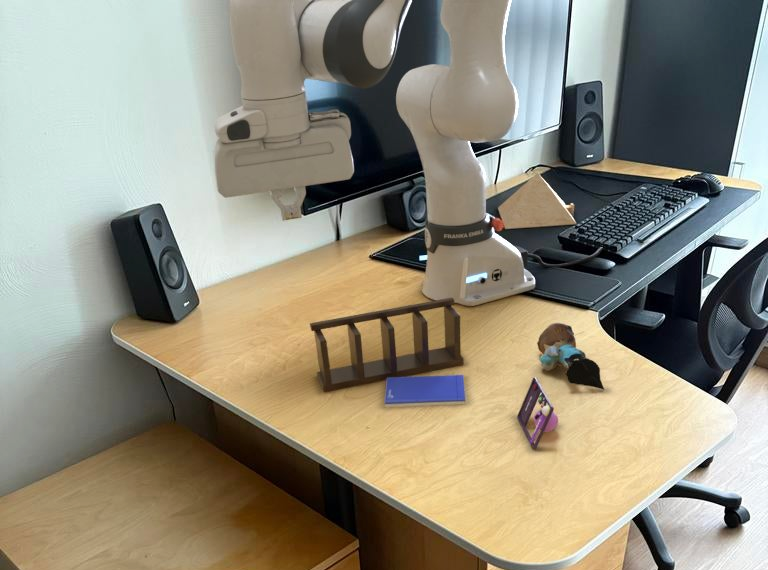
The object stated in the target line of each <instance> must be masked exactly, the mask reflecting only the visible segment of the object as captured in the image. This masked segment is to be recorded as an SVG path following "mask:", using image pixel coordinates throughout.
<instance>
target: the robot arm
mask: <svg viewBox="0 0 768 570" xmlns="http://www.w3.org/2000/svg"><path fill="white" fill-rule="evenodd" d="M412 2H413V0H229V24H230V32H231V33H230V34H231V41H232V42H231V43H232V48H233V55H234V59H235V64H236V66H237V68H238V70H239V74H240V79H241V88H240V89H241V91H240V97H241V103H242V105H240V106H239V107H237V108H235V109H234V110H231V111H229V112H227V113H225V114H223V115H221V116H219V117H218V118H217V119H215V121H214V124H213V125H214V127H213V128H214V132H215V135H216V137H217V139H216V141H215V143H214V145H213V155H212V156H213V157H212V158H213V170H214V179H215V185H216V189H217V193H219V194H220V195H221V196H222V197H223V198H226V199H227V198H234V197H241V196H245V195H246V196H247V195H254V194H260V193H261V194H262V193H269V195H270V198H271V199H272V200H273V201H274V203H275V204H276V205H277V207H278V209H279V213H280V218H281V220H282V221H283V222H285V221H291V220H296V219H297V220H298V219H302V216H303V215H302V208H301V207H302V205H303V203H304V200H305V198H306V195H307V190H306V187H307V186H314V185H320V184H321V185H322V184H327V183H333V182H340V181H346V180H347V181H348V180H351V178H352V177H353V175H354V173H355V165H354V158H353V154H352V149H351V144H350V139H351V137H352V125H351V120H350V118H349V116H348V115H347V114H346V113H344V112H341V111H340V110H339V109H330V110H327V111H313V112H309V111H308V109H309V108H308V101H307V92H306V86H305V81H306V80H314V81H319V82H320V81H321V82H327V83H337V84H343V85H346V86H350V87H354V88H357V89H370V88H373V87H375V86H377V85H378V84H379V83H380V82H381V81H382V80H383V79H384V78H385V77H386V75H387V74H388V72H389V71H390V69H391V67H392V65H393V63H394V60H395V57H396V53H397V49H398V44H399V39H400V35H401V31H402V28H403V25H404V22H405V19H406V17H407V14H408V12H409V10H410V7H411V5H412ZM511 3H512V0H442V3H441V9H440V15H439V18H440V23H441V27H442V29H443V30H444V31H445V32H446V34H447V35H448V38H449V44H450V45H449V46H450V62H449V65H443V64H434V63H433V64H432V63H431V64H427V65H422V66H418V67H415V68H412V69H410V70H408V71H407V72H406V73H405V74H404V75H403V76H402V78H401V79H400V81H399V83H398V86H397V88H396V89H397V90H396V94H395V95H396V96H395V104H396V105H395V106H396V110H397V112H398V116H399V117H400V119H401V120H402V121H403V123H404V124H405V125H406V126H407V128H408V129H409V131H410V133H411V136H412V138H413V141H414V143H415V146H416V150H417V153H418V155H419V159H420V162H421V166H422V170H423V175H424V182H425V200H426V217H425V220H424V243H425V248H426V255H419V261H425V260H426V266H425V272H424V273H425V274H424V278H423V283H422V287H421V292H422V294H423V295H424V296H425V297H426V298H428V299H430V300H432V301H436V300H441V299H447V298H453V299H454V304H460V305H463V306H468V307H474V306H478V305H482V304H485V303H488V302H493V301H497V300H500V299H503V298H507V297H511V296H514V295H518V294H522V293H524V292H529V291H531V290H535V288H536V279H535V277H534V275H533V273H531V272H530V271H529V270H527V269H526V267H528V258H532V259H534V260H536V261H537V263H538V264H539V266H540V267H543V268H558V267H570V266H575V265H578V264H581V263H584V262H587V261H590V260H592V259H595V258H597V256H599V255H600V254H601V252H602V251H603V250H605V249H606V248H603V247H601V246H600V247H599V248H598V249H597V250H596V251H595V252H594V253H593V254H591V255H589V256H586V257H582V258H579V259H576V260H573V261H570V262H565V263H559V264H557V263H556V264H553V263H552V264H551V263H547V262H546V263H545V262H543V261H542V259H541V257H540V256H539V255H537V254H534V253H528V250H526V249H524V248H522V247H520V246H518V245H513V244H511V243H510V242H509V241H507V240H506V239H505V238H503V237H502V236H500V235H499V234H497V233H496V232H501V231H503V229H505V227H504V224H503V223H504V222H503V221H502V219H501V218H500V217H495V216H494V215H492V214H489V213H487V210H486V209H487V208H486V207H487V175H486V171H485V168H484V166H483V165H482V163H481V162H480V160H478V158H477V157H476V155H475V152H474V151H473V148H472V146H471V143H475V144H477V143H478V144H479V143H487V142H494V141H498V140H501V139H502V138H504V137H505V136H506V135H507V134H508V133H509V132H510V130H511V129H512V127H514V124H515V121H516V118H517V116H518V111H519V110H518V108H519V98H518V93H517V89H516V87H515V85H514V83H513V82H512V80H511V78H510V76H509V74H508V70H507V63H506V53H505V52H506V51H505V38H506V37H505V36H506V29H507V23H508V18H509V12H510V8H511ZM340 116H341V117H340ZM289 189H293V190H294V193H295V194H296V197H295V200H294V201H293V203H291V204H283V203H282V201H281V200H280V199H279V198H282V192H281V190H289ZM495 231H496V232H495ZM634 241H635V242H638V243H639V244H644V243H645V242H644V241H643V239H641V238H640V239H637V240H634Z"/></svg>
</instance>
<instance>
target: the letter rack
mask: <svg viewBox="0 0 768 570" xmlns="http://www.w3.org/2000/svg"><path fill="white" fill-rule="evenodd" d="M453 306H455V303H454V299H453V298H447V299H441V300H430V301H425V302H420V303H413V304H409V305H403V306H398V307H393V308H392V307H391V308H386V309H380V310H376V311H370V312H369V311H368V312H365V313H358V314H353V315H349V316H341V317H336V318H332V319H325V320H320V321H316V322H315V321H314V322H309V328H310V331H311V332H313V333H314V340H315V341H314V342H315V347H316V354H317V355H316V356H317V362H318V369H319V370H318V371H316V377H317V380H318V383H319V384H320V387H321V389H322V391H323V393H325V392H326V393H327V392H331V391H336V390H342V389H346V388H347V389H348V388H352V387H356V386H361V385H362V386H363V385H367V384H372V383H377V382H382V381H387V378H390V377H409V376H413V375H417V374H423V373H427V372H432V371H437V370H443V369H447V368H452V367H459V366H463V365H464V363H465V361H464V360H465V359H464V357H463V356H462V354H461V347H462V346H461V314H459V313H458V312H457V310H456V309H455V308H454V307H453ZM440 308H443V314H444V315H443V316H444V317H443V318H444V319H443V321H444V322H443V323H444V347H443V346H442V347H438V348H433V349H429V328H428V324H429V323H428V320H427V319H426V318H425V316H424V315H423V314H422V313H421V312H424V311H431V310H434V309H435V310H436V309H440ZM408 314H409V315H410V314H411V315H412V334H413V335H412V336H413V351H414V352H413V353H407V354H403V355H398V356H397V348H396V347H397V346H396V334H395V326H393V324H392V322H391V321H390V320H389V318H392V317H397V316H403V315H408ZM375 320H379V322H380V323H379V324H380V333H381V334H380V335H381V336H380V337H381V347H382V358H381V359H376V360H371V361H366V362H364V355H363V345H362V335H361V333H360V331H359V329H358V327H357V326H356V324H359V323H364V322H365V323H366V322H370V321H375ZM343 326H347V336H348V344H349V353H350V361H351V365H346V366H340V367H335V368H331V365H330V358H329V357H330V356H329V352H328V351H329V350H328V344H327V339H326V337H325V335H324V333H323V331H322V330H327V329H331V328H336V327H343Z"/></svg>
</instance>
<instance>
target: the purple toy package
mask: <svg viewBox="0 0 768 570" xmlns="http://www.w3.org/2000/svg"><path fill="white" fill-rule="evenodd" d="M537 402H538V404H539V406H540V409H539V410H537V411H536V412H535V414H534V415H533V423H534V425H535V429H534V431H533V434H532V436H531V434H530V432H529V430H528V428H527V426H528V423H529V421H530V418H531V416H532V414H533V411H534V409H535V407H536V405H537ZM554 410H555V408H554V406H553V403H552V402H551V400H550V398H549V397H548V395H547V394H546V391H545V390H544V388H543V387H542V385H541V383H540V381H539V380H538V378H537V377H533V378H532V380H531V383H530V385H529V388H528V389H527V392H526V395H525V396H524V399H523V401H522V404H521V406H520V409H519V411H518V414H517V416H516V418H517V419H518V422H519V425H520V426H521V429H522V430H523V433H524V434H525V437H526V438H527V441H528V442H529V445H530V447H531V449H532V450H537V448H538V446H539V444H540V441H541V439H542V437H543V435H544V432H545V433H548V432H552V431H554V430H555V429H556V428H557V426H558V424H559V417H558V415H557V414H556V412H555V411H554Z"/></svg>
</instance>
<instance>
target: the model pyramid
mask: <svg viewBox="0 0 768 570" xmlns="http://www.w3.org/2000/svg"><path fill="white" fill-rule="evenodd" d="M497 210H498V213H499V215H500V219H501V220H502V222H504V223H503V224H504V229H505V230H511V229H524V228H525V229H527V228H541V227H554V226H569V225H577V222H576V220H575V219H574V213H575V204H574V203H573V202H572V203H570V204H566V203H565V202H564V200H562V199H561V197H560V196H559V195H558V194H557V192H556V191H555V190H554V189H553V188H552V187H551V186H550V184H549V183H548V182H547V181H546V180H545V178H543V177H542V176H541V174H540V173H539V172H537V173H535V174H534V176H532V177H531V178H530V179H528V180H527V181H526V182H525V183H524V184H522V186H521V187H519V189H517V190H516V191H515V192H514V193H513V194H512V195H511V196H509V197H508V198H507V199H506V200H505V201H504V202H503V203H502V204H500V205H499V206H498V207H497Z"/></svg>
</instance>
